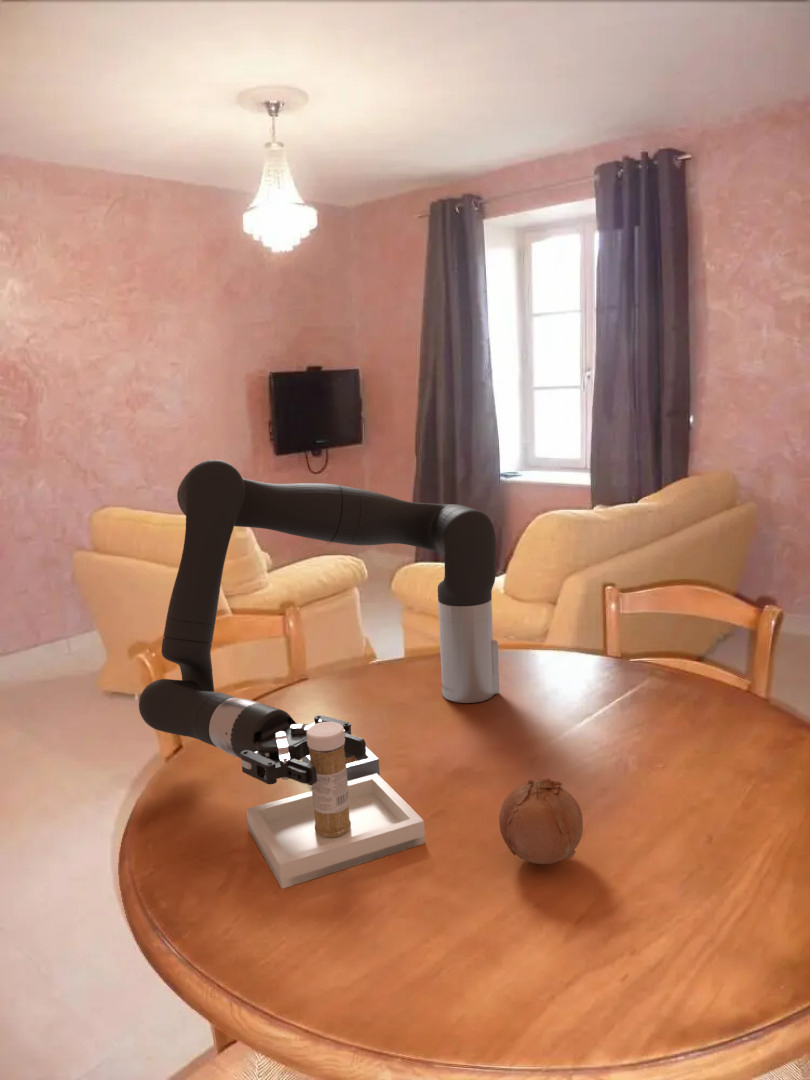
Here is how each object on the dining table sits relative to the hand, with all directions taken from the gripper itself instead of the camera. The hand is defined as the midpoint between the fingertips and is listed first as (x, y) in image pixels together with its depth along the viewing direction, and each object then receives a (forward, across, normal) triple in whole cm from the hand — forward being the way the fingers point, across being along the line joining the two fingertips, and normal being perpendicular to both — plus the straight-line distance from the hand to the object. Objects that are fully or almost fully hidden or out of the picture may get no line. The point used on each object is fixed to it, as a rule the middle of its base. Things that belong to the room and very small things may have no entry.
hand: (340, 762), depth 99 cm
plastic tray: (-2, 0, +10) cm, 11 cm away
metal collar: (-13, +13, +10) cm, 21 cm away
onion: (+22, +10, +11) cm, 26 cm away
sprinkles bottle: (-2, 0, +10) cm, 10 cm away
